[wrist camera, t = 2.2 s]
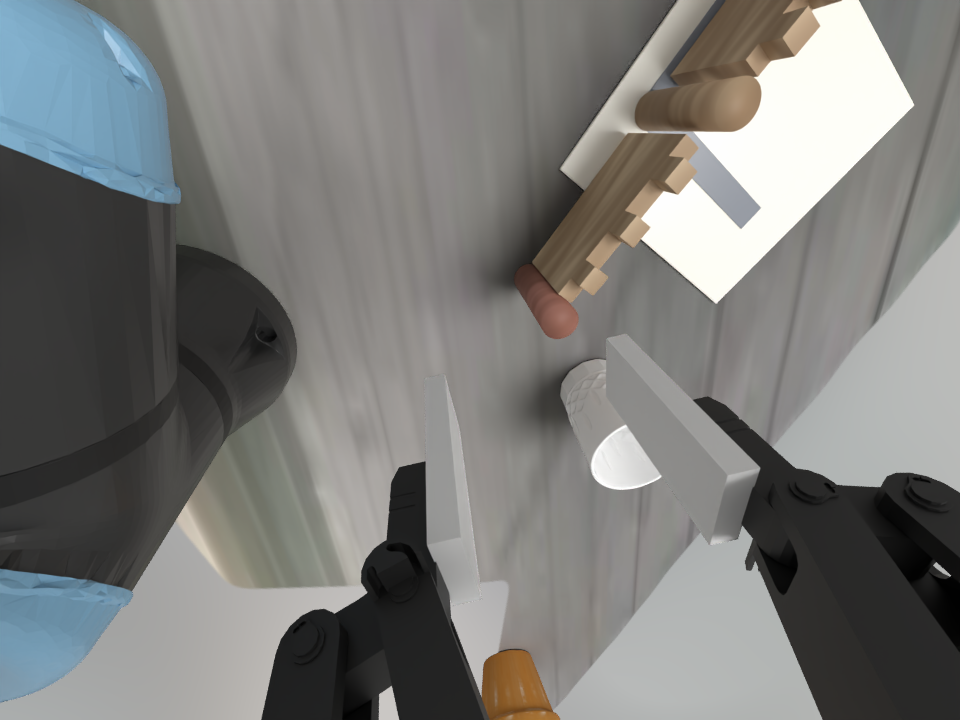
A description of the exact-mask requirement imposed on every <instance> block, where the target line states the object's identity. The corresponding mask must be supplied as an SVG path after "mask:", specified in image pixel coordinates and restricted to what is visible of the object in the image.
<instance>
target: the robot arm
mask: <svg viewBox="0 0 960 720" xmlns="http://www.w3.org/2000/svg"><path fill="white" fill-rule="evenodd" d="M180 200H181V193H180V188H179V186H178V185H177V184H176V183H175V182H174V177H173V167H172V158H171V148H170V139H169V129H168V116H167V104H166V97H165V93H164V89H163V87H162V84H161V81H160V79H159V77H158V74H157V73H156V71H155V69H154V67H153V66H152V64H151V63H150V61H149V60H148V58H147V57H146V56H145V54H144V53H143V52H142V51H141V49H140V48H139V47H138V46H137V45H136V44H135V43H134V42H133V41H132V40H131V39H130V38H129V37H128V36H127V35H126V34H125V33H124V32H123V31H121V30H120V29H119V28H117V27H116V26H115V25H114V24H112V23H111V22H110V21H108V20H107V19H106V18H104V17H102V16H101V15H99V14H98V13H96V12H94V11H92V10H91V9H89V8H87V7H85V6H83V5H82V4H80V3H78V2H76V1H74V0H0V702H4V701H8V700H12V699H16V698H20V697H23V696H26V695H29V694H32V693H34V692H36V691H39V690H41V689H43V688H45V687H47V686H49V685H51V684H53V683H54V682H56V681H58V680H59V679H61V678H63V677H64V676H66V675H67V674H68V673H69V672H70V671H72V670H73V669H74V668H75V667H76V666H77V665H78V664H79V663H81V662H82V660H83V659H84V658H85V657H86V656H87V655H88V653H89V652H90V651H91V649H92V648H93V646H94V645H95V644H96V642H97V641H98V639H99V638H100V636H101V635H102V633H103V632H104V631H105V629H106V628H107V627H108V625H109V624H110V623H111V621H112V620H113V619H114V617H115V616H116V614H117V613H118V612H119V610H120V609H121V608H122V607H124V606H126V605H128V603H129V602H130V600H131V599H132V597H133V594H132V593H133V592H132V590H133V589H134V587H135V585H136V584H137V582H138V580H139V579H140V577H141V576H142V574H143V572H144V571H145V569H146V567H147V566H148V564H149V563H150V561H151V559H152V558H153V556H154V554H155V553H156V551H157V550H158V548H159V546H160V545H161V543H162V541H163V540H164V538H165V537H166V535H167V533H168V532H169V530H170V528H171V527H172V525H173V524H174V522H175V520H176V519H177V517H178V516H179V514H180V512H181V511H182V509H183V508H184V506H185V504H186V503H187V501H188V499H189V498H190V496H191V495H192V493H193V491H194V490H195V488H196V486H197V485H198V483H199V482H200V480H201V478H202V477H203V475H204V473H205V472H206V470H207V469H208V467H209V465H210V464H211V462H212V461H213V459H214V457H215V456H216V454H217V452H218V450H219V449H220V447H221V446H222V444H223V442H224V441H225V439H226V438H227V437H228V436H229V435H231V434H232V433H233V432H235V431H236V430H238V429H239V428H240V427H242V426H243V425H245V424H246V423H247V422H249V421H250V420H252V419H253V418H254V417H256V416H257V415H259V414H260V413H261V412H263V411H264V410H265V409H267V408H268V407H269V406H270V405H271V404H272V403H273V402H274V401H275V400H276V399H277V398H278V397H279V395H280V394H281V393H282V391H283V389H284V387H285V386H286V384H287V382H288V380H289V378H290V376H291V374H292V372H293V369H294V366H295V362H296V355H297V346H296V338H295V334H294V331H293V327H292V325H291V322H290V320H289V318H288V316H287V314H286V312H285V311H284V309H283V307H282V306H281V305H280V303H279V302H278V300H277V299H276V298H275V297H274V295H273V294H272V293H271V292H270V291H269V290H268V289H267V288H266V287H265V286H264V285H263V284H262V283H261V282H259V281H258V280H257V279H256V278H255V277H253V276H252V275H251V274H249V273H248V272H247V271H245V270H244V269H242V268H240V267H239V266H237V265H235V264H234V263H232V262H230V261H228V260H226V259H224V258H222V257H220V256H217V255H215V254H212V253H209V252H206V251H203V250H200V249H196V248H193V247H188V246H183V245H176V204H179V203H181V202H180ZM424 391H425V454H426V461H425V462H421V463H416V464H412V465H407V466H403V467H399V469H398V471H397V472H396V474H395V476H394V478H393V480H392V482H391V493H390V499H391V500H390V505H389V512H390V513H389V518H388V530H387V541H384V542H383V543H381V544H380V545H379V546H377V547H376V548H374V550H373V551H372V552H371V553H370V555H369V556H368V557H367V558H366V560H365V563H364V565H363V568H362V571H361V583H362V584H363V586H364V587H365V589H366V591H367V592H368V593H367V594H365V595H364V596H363V597H361V598H360V599H359V600H357V601H355V602H354V603H352V604H350V605H349V606H347V607H345V608H343V609H342V610H340V611H338V612H337V613H335V614H334V613H332V612H330V611H328V610H326V609H319V610H313V611H310V612H308V613H306V614H305V615H302V616H301V617H300V618H299V619H298V620H296V621H295V622H294V623H293V624H292V625H291V626H290V627H289V629H288V630H287V632H286V633H285V634H284V636H283V637H282V639H281V641H280V644H279V646H278V649H277V652H276V655H275V660H274V664H273V669H272V674H271V678H270V683H269V687H268V692H267V696H266V701H265V706H264V710H263V714H262V719H261V720H379V718H378V717H379V694H380V693H381V692H383V691H385V690H386V689H387V688H389V687H390V686H392V688H393V693H394V697H395V702H396V706H397V711H398V716H399V720H490V719H489V716H488V714H487V711H486V708H485V706H484V703H483V701H482V698H481V695H480V693H479V690H478V687H477V685H476V682H475V679H474V677H473V674H472V672H471V669H470V666H469V663H468V661H467V659H466V655H465V653H464V650H463V647H462V645H461V642H460V640H459V637H458V634H457V632H456V629H455V626H454V624H453V622H452V619H451V611H450V600H451V602H452V605H453V606H455V605H460V604H464V603H468V602H472V601H476V600H481V599H482V596H481V589H480V581H479V573H478V566H477V558H476V550H475V543H474V535H473V527H472V520H471V512H470V504H469V497H468V489H467V481H466V474H465V466H464V459H463V451H462V443H461V436H460V428H459V425H458V421H457V417H456V414H455V410H454V406H453V403H452V399H451V395H450V392H449V388H448V384H447V381H446V377H445V374H442V375H438V376H433V377H429V378H424ZM606 397H607V398H608V400H609V401H610V403H611V404H612V405H613V407H614V408H615V410H616V411H617V413H618V414H619V416H620V417H621V418H622V420H623V421H624V423H625V424H626V426H627V427H628V429H629V430H630V431H631V433H632V434H633V436H634V437H635V439H636V440H637V441H638V443H639V444H640V446H641V447H642V449H643V450H644V452H645V453H646V454H647V456H648V457H649V459H650V460H651V462H652V463H653V465H654V466H655V467H656V469H657V470H658V472H659V473H660V475H661V476H662V478H663V479H664V480H665V482H666V483H667V485H668V486H669V488H670V489H671V490H672V492H673V493H674V495H675V496H676V498H677V499H678V501H679V502H680V503H681V505H682V506H683V508H684V509H685V511H686V512H687V514H688V515H689V516H690V518H691V519H692V521H693V522H694V524H695V525H696V527H697V528H698V529H699V531H700V532H701V534H702V535H703V537H704V538H705V539H706V541H707V542H708V544H709V545H710V546H711V545H714V544H719V543H723V542H728V541H732V540H736V539H738V537H739V534H740V531H741V527H742V526H743V527H744V528H745V529H746V530H747V532H748V533H749V534H750V535H751V537H752V538H753V540H752V544H751V546H750V549H749V552H748V554H747V557H746V560H745V564H746V570H749V571H750V570H752V568H753V565H754V562H755V561H756V563H757V565H758V571H760V573H761V575H762V577H763V579H764V582H765V584H766V587H767V589H768V591H769V594H770V596H771V599H772V601H773V603H774V606H775V608H776V611H777V613H778V615H779V618H780V620H781V622H782V625H783V627H784V629H785V632H786V634H787V637H788V639H789V641H790V644H791V646H792V648H793V651H794V653H795V655H796V658H797V660H798V663H799V665H800V667H801V670H802V672H803V674H804V677H805V679H806V681H807V684H808V686H809V688H810V690H811V693H812V695H813V698H814V700H815V703H816V705H817V707H818V710H819V712H820V715H821V717H822V719H823V720H960V493H959V492H958V491H956V490H954V489H953V488H951V487H949V486H948V485H946V484H944V483H942V482H940V481H937V480H934V479H932V478H929V477H927V476H923V475H918V474H913V473H895V474H892V475H889V476H887V477H886V479H885V480H884V482H883V484H882V486H881V487H862V486H861V487H859V486H842V485H836V484H835V483H834V482H832V481H831V480H829V479H827V478H826V477H824V476H822V475H820V474H817V473H814V472H812V471H809V470H803V469H796V468H795V467H793V466H792V465H791V464H790V463H789V462H788V461H786V460H785V459H784V458H783V457H782V456H781V455H780V454H778V452H777V451H775V450H774V449H773V448H772V447H771V446H770V445H769V444H768V443H767V442H766V441H764V440H763V439H762V438H761V437H760V436H759V435H758V434H757V433H756V432H754V431H753V430H752V429H751V430H750V428H749V426H748V425H747V424H746V423H745V422H743V421H742V420H739V417H738V416H737V415H736V414H735V413H734V412H732V411H731V410H730V409H729V408H728V407H727V406H726V405H724V404H722V403H720V402H718V401H716V400H714V399H712V398H710V397H703V398H699V399H694V400H692V399H691V398H690V397H689V396H688V395H687V394H686V393H685V392H684V391H683V390H682V389H681V388H680V387H679V386H678V385H677V384H676V383H675V382H674V381H673V380H672V379H671V378H670V377H669V376H668V375H667V374H666V373H665V372H664V371H663V370H662V369H661V368H660V367H659V366H658V365H657V364H656V363H655V362H654V361H653V360H652V359H651V358H650V357H649V356H648V355H647V354H646V353H645V352H644V351H643V350H642V349H641V348H640V347H639V346H638V345H637V344H636V343H635V342H634V341H633V340H632V339H631V338H630V337H629V336H628V335H627V334H623V335H618V336H614V337H609V338H606ZM936 562H937V563H938V564H939V565H941V567H942V568H944V569H945V570H946V571H947V572H948V573H949V574H950V575H951V576H950V577H949V576H947V575H945V574H943V573H941V572H940V571H939V570H937V569H936V568H935V567H934V566H933V565H934V564H935V563H936Z"/></svg>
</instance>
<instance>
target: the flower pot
mask: <svg viewBox="0 0 960 720" xmlns="http://www.w3.org/2000/svg"><path fill="white" fill-rule="evenodd" d="M482 701H483V703H484V706H485V708H486V711H487V714H488V716H489V719H490V720H560V718H559V716H558V715H557V714H556V713H554V712H553V710H552V708H551V705H550V703H549V700H548V698H547V695H546V693H545V690H544V687H543V685H542V682H541V680H540V677H539V675H538V672H537V670H536V667H535V665H534V662H533V660H532V657H531V655H530V654H529V653H528V652H526V651H524V650H507V651H503V652H499V653H497V654H494V655H493V656H491V657H489V658H488V659H487V660H486V661H485V663H484V667H483V682H482Z"/></svg>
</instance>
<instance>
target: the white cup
mask: <svg viewBox="0 0 960 720" xmlns="http://www.w3.org/2000/svg"><path fill="white" fill-rule="evenodd" d="M560 397H561V399H562V401H563V403H564V406H565V408H566V411H567V413H568V418H569V421H570V423H571V426H572V429H573V431H574V433H575V436H576V439H577V441H578V443H579V445H580V447H581V449H582V452H583V454H584V456H585V459H586V461H587V463H588V466H589V468H590V470H591V473H592V475H593V477H594V478H595V480H596V481H597V482H598V483H600V484H601V485H603V486H605V487H608V488H611V489H619V490H625V489H633V488H638V487H641V486H644V485H647V484H649V483H651V482H653V481H655V480H657V479H659V478H660V477H662V476H661V475H660V473H659V472H658V470H657V469H656V467H655V466H654V465H653V463H652V462H651V460H650V459H649V457H648V456H647V454H646V453H645V452H644V450H643V449H642V447H641V446H640V444H639V443H638V441H637V440H636V439H635V437H634V436H633V434H632V433H631V431H630V430H629V429H628V427H627V426H626V424H625V423H624V421H623V420H622V418H621V417H620V416H619V414H618V413H617V411H616V410H615V408H614V407H613V405H612V404H611V403H610V401H609V400H608V398H607V397H606V360H603V359H594V360H590V361H586V362H582V363H581V364H579V365H578V366H577V367H575V368H574V369H572V370H571V371H570V372H569V373H568V374H567V376H566V377H565V379H564V380H563V382H562V385H561V392H560Z"/></svg>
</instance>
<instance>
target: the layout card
mask: <svg viewBox="0 0 960 720" xmlns="http://www.w3.org/2000/svg"><path fill="white" fill-rule="evenodd" d="M725 1H726V0H677V1H676V2H675V4H674V5H673V7H672V8H671V10H670V11H669V13H668V14H667V15H666V17H665V18H664V20H663V21H662V23H661V24H660V25H659V27H658V28H657V30H656V31H655V33H654V34H653V35H652V37H651V38H650V40H649V41H648V43H647V44H646V45H645V47H644V48H643V50H642V51H641V53H640V54H639V55H638V57H637V58H636V60H635V61H634V63H633V64H632V65H631V67H630V68H629V70H628V71H627V73H626V74H625V75H624V77H623V78H622V80H621V81H620V83H619V84H618V85H617V87H616V88H615V90H614V91H613V93H612V94H611V95H610V97H609V98H608V100H607V101H606V103H605V104H604V106H603V107H602V108H601V110H600V111H599V113H598V114H597V116H596V117H595V118H594V120H593V121H592V123H591V124H590V126H589V127H588V128H587V130H586V131H585V133H584V134H583V136H582V137H581V138H580V140H579V141H578V143H577V144H576V146H575V147H574V148H573V150H572V151H571V153H570V154H569V156H568V157H567V158H566V160H565V161H564V163H563V164H562V166H561V167H560V168H559V169H560V170H561V171H562V172H563V173H564V174H565V175H567V176H568V177H569V178H570V179H571V180H572V181H574V182H575V183H576V184H577V185H578V186H579V187H581V188H582V189H583V190H584V191H585V190H586V189H587V187H588V186H589V185H590V183H591V182H592V180H593V179H594V178H595V176H596V175H597V174H598V172H599V171H600V170H601V168H602V167H603V166H604V164H605V163H606V162H607V160H608V159H609V158H610V156H611V155H612V154H613V152H614V151H615V149H616V148H617V147H618V145H619V144H620V143H621V141H622V140H623V139H624V137H625V136H626V135H627V133H666V134H687V135H688V136H689V137H690V138H691V140H692V141H693V142H694V143H695V144H696V145H697V146H698V147H699V149H698V150H697V151H696V153H695V154H694V155H693V156H692V157H691V159H690V160H689V161H688V162H689V163H690V164H691V165H692V166H693V167H694V168H695V169H696V170H697V173H696V174H695V176H694V177H693V178H692V179H691V180H690V182H689V183H688V184H687V185H686V186H685V187H684V189H683V190H682V191H681V192H680V193H679V195H677V194H673V193H669V192H665V191H663V193H662V194H661V195H660V196H659V197H658V199H657V200H656V201H655V202H654V203H653V205H652V206H651V207H650V208H649V210H648V211H647V212H646V213H645V214H644V216H643V217H642V218H641V219H642V220H643V221H644V222H645V223H646V224H647V225H648V226H650V227H651V228H650V229H649V230H648V231H647V233H646V234H645V235H644V236H643V237H642V238H641V240H642V241H643V242H645V243H646V244H647V245H648V246H649V247H650V248H651V249H653V250H654V251H655V252H656V253H657V254H658V255H660V256H661V257H662V258H663V259H664V260H665V261H667V262H668V263H669V264H670V265H671V266H672V267H674V268H675V269H676V270H677V271H678V272H679V273H681V274H682V275H683V276H684V277H685V278H686V279H688V280H689V281H690V282H691V283H692V284H693V285H695V286H696V287H697V288H698V289H699V290H700V291H701V292H703V293H704V294H705V295H706V296H707V297H708V298H710V299H711V300H712V301H713V302H714V303H717V302H718V301H719V300H720V299H721V298H722V297H723V296H724V295H725V294H726V293H727V292H728V291H729V290H730V289H731V288H732V287H733V286H734V285H735V284H736V283H737V282H738V281H739V280H740V279H741V278H742V277H743V276H744V275H745V274H746V273H747V272H748V271H749V270H750V269H751V268H752V267H753V266H754V265H755V264H756V263H757V262H758V261H759V260H760V259H761V258H762V257H763V256H764V255H765V254H766V253H767V252H768V251H769V250H770V249H771V248H772V247H773V246H774V245H775V244H776V243H777V242H778V241H779V240H780V239H781V238H782V237H783V236H784V235H785V234H786V233H787V232H788V231H789V230H790V229H791V228H792V227H793V226H794V225H795V224H796V223H797V222H798V221H799V220H800V219H801V218H802V217H803V216H804V215H805V214H806V213H807V212H808V211H809V210H810V209H811V208H812V207H813V206H814V205H815V204H816V203H817V202H818V201H819V200H820V199H821V198H822V197H823V196H824V195H825V194H826V193H827V192H828V191H829V190H830V189H831V188H832V187H833V186H834V185H835V184H836V183H837V182H838V181H839V180H840V179H841V178H842V177H843V176H844V175H845V174H846V173H847V172H848V171H849V170H850V169H851V168H852V167H853V166H854V165H855V164H856V163H857V162H858V161H859V160H860V159H861V158H862V157H863V156H864V155H865V154H866V153H867V152H868V151H869V150H870V149H871V148H872V147H873V146H874V145H875V144H876V143H877V142H878V141H879V140H880V139H881V138H882V137H883V136H884V135H885V134H886V133H887V132H888V131H889V130H890V129H891V128H892V127H893V126H894V125H895V124H896V123H897V122H898V121H899V120H900V119H901V118H902V117H903V116H904V115H905V114H906V113H907V112H908V111H909V110H910V109H911V108H912V107H913V106H914V104H913V102H912V100H911V98H910V96H909V94H908V92H907V91H906V89H905V87H904V85H903V83H902V81H901V79H900V77H899V75H898V74H897V72H896V70H895V68H894V66H893V64H892V62H891V60H890V59H889V57H888V55H887V53H886V51H885V49H884V47H883V45H882V44H881V42H880V40H879V38H878V36H877V34H876V32H875V30H874V28H873V27H872V25H871V23H870V21H869V19H868V17H867V15H866V13H865V12H864V10H863V8H862V6H861V4H860V2H859V0H842V1H840V2H837V3H833V4H830V5H827V6H823V7H820V8H817V9H813V11H812V13H813V14H814V16H815V18H816V19H817V21H818V23H819V24H820V27H819V28H818V30H817V31H816V32H815V33H814V34H813V36H812V37H811V38H810V39H809V40H808V42H807V43H806V44H805V45H804V46H803V47H802V49H801V50H800V51H799V52H798V53H797V55H796V56H795V57H790V58H784V59H779V60H774V61H771V62H770V63H769V64H768V65H767V66H766V68H765V69H764V70H763V71H762V72H761V74H760V75H759V76H758V77H754V78H755V79H757V81H758V82H759V84H760V86H761V92H762V95H761V102H760V106H759V108H758V111H757V112H756V114H755V116H754V117H753V119H752V120H751V121H750V122H749V123H748V124H747V125H746V126H745V127H743V128H742V129H740V130H738V131H735V132H683V131H643V130H641V129H640V128H639V127H638V126H637V124H636V122H635V109H636V106H637V103H638V102H639V100H640V99H641V97H642V96H643V95H645V94H646V93H647V92H650V91H653V90H659V89H665V88H672V87H678V86H679V85H678V84H677V83H676V82H675V81H674V80H673V78H672V77H671V76H670V75H671V74H672V73H673V71H674V70H675V69H676V67H677V66H678V65H679V63H680V62H681V60H682V59H683V58H684V56H685V55H686V54H687V52H688V51H689V50H690V48H691V47H692V46H693V44H694V43H695V42H696V40H697V39H698V38H699V36H700V35H701V34H702V32H703V31H704V29H705V28H706V27H707V25H708V24H709V23H710V21H711V20H712V19H713V17H714V16H715V15H716V13H717V12H718V11H719V9H720V8H721V7H722V5H723V4H724V3H725Z"/></svg>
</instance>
